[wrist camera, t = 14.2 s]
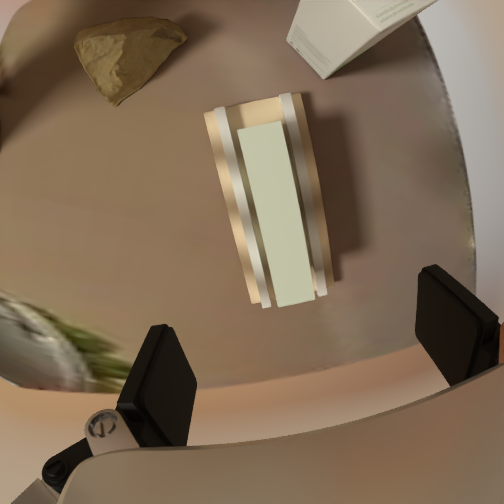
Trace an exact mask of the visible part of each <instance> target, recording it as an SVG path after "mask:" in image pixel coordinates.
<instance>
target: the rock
mask: <svg viewBox="0 0 504 504" xmlns="http://www.w3.org/2000/svg"><path fill="white" fill-rule="evenodd" d="M187 38H188V37H187V36H186V34H185V33H184V32H183V30H182V29H181V28H180V27H179V26H178V25H177V24H175V23H173V22H172V21H170V20H168V19H158V18H154V17H142V18H137V17H135V18H123V19H119V20H116V21H114V22H108V23H104V24H100V25H96V26H93V27H89V28H85V29H84V30H82V31H80V32H78V33H77V34H76V36H75V38H74V42H73V44H74V49H75V51H76V52H77V55H78V57H79V60H80V62H81V63H82V65H83V68H84V70H85V71H86V73H87V74H88V75H89V77H90V78H91V80H92V81H93V82H94V85H95V86H96V89H97V91H98V92H99V93H100V94H101V95H102V96H104V97H105V98H106V99H107V101H108V102H109V103H110V104H111V105H112V106H114V107H117V106H118V104H119V103H120V102H121V101H122V100H123V99H125V98H126V97H128V96H129V95H130V94H133V93H134V92H135V91H137V90H138V89H141V88H142V86H143V85H144V84H145V83H146V82H147V81H148V80H149V79H150V78H151V77H152V76H153V74H154V73H155V72H156V71H157V69H158V67H159V66H160V65H161V63H162V62H164V61H165V60H166V59H167V57H168V56H169V54H170V53H171V51H172V50H173V49H175V48H177V47H178V46H179V45H181V44H183V43H184V42H185V41H186V39H187Z"/></svg>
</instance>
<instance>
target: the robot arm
mask: <svg viewBox="0 0 504 504" xmlns="http://www.w3.org/2000/svg"><path fill="white" fill-rule="evenodd" d="M498 319H499V317H498V316H497V315H496V314H495V313H493V312H492V311H491V310H490V309H489V308H488V307H487V306H486V305H485V304H484V303H482V302H481V301H480V300H479V299H478V298H477V297H476V296H475V295H473V294H472V293H471V292H470V291H469V290H468V289H466V288H465V287H464V286H463V285H462V284H460V283H459V282H458V281H457V280H456V279H454V278H453V277H452V276H451V275H449V274H448V273H447V272H446V271H445V270H443V269H442V268H441V267H440V266H438V265H437V264H434V265H431V266H427V267H424V268H422V270H421V272H420V273H419V274H418V293H417V311H416V324H415V334H416V337H417V339H418V340H419V342H420V343H421V344H422V346H423V347H424V348H425V350H426V351H427V353H428V354H429V356H430V357H431V359H432V360H433V361H434V363H435V364H436V366H437V367H438V369H439V370H440V371H441V373H442V375H443V376H444V378H445V379H446V381H447V382H448V383H449V385H450V387H449V388H447V389H444V390H442V391H440V392H437V393H435V394H433V395H430V396H427V397H425V398H423V399H420V400H417V401H414V402H412V403H409V404H406V405H404V406H400V407H398V408H395V409H392V410H389V411H385V412H383V413H379V414H376V415H373V416H370V417H366V418H362V419H359V420H355V421H352V422H348V423H344V424H340V425H336V426H332V427H328V428H323V429H319V430H315V431H310V432H305V433H300V434H294V435H288V436H282V437H277V438H269V439H263V440H256V441H247V442H238V443H227V444H214V445H201V446H186V445H187V440H188V434H189V428H190V422H191V416H192V411H193V405H194V399H195V394H196V389H197V381H196V378H195V375H194V373H193V371H192V369H191V367H190V365H189V363H188V360H187V358H186V356H185V354H184V352H183V349H182V347H181V345H180V343H179V340H178V338H177V336H176V334H175V331H174V329H173V328H172V327H168V325H167V324H161V325H155V326H151V328H150V330H149V332H148V334H147V336H146V338H145V340H144V342H143V345H142V347H141V349H140V351H139V353H138V355H137V358H136V360H135V362H134V364H133V366H132V369H131V371H130V373H129V376H128V378H127V380H126V382H125V385H124V387H123V389H122V392H121V394H120V396H119V399H118V401H117V407H116V409H115V410H113V409H104V410H101V411H98V412H96V413H95V414H93V415H92V416H91V417H90V418H89V419H88V421H87V423H86V425H85V429H84V430H85V435H86V437H85V438H84V439H82V440H80V441H79V442H77V443H75V444H74V445H72V446H70V447H69V448H67V449H65V450H63V451H62V452H60V453H58V454H56V455H55V456H53V457H51V458H50V459H49V460H48V461H47V462H46V463H45V465H44V467H43V469H42V477H43V479H42V480H40V479H38V478H37V479H36V480H35V481H34V482H33V483H32V484H31V485H30V486H29V487H28V488H27V489H26V490H25V491H24V492H23V493H21V495H19V496H18V497H17V498H16V499H15V500H14V501H13V502H12V503H11V504H504V322H503V323H502V325H500V324H499V323H498Z"/></svg>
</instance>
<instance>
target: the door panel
mask: <svg viewBox="0 0 504 504" xmlns="http://www.w3.org/2000/svg"><path fill="white" fill-rule="evenodd" d="M237 132H238V137H239V141H240V145H241V149H242V153H243V157H244V161H245V166H246V170H247V174H248V178H249V182H250V187H251V191H252V195H253V199H254V204H255V208H256V212H257V217H258V221H259V225H260V229H261V234H262V238H263V242H264V247H265V251H266V256H267V260H268V264H269V269H270V273H271V278H272V282H273V286H274V291H275V295H276V300H277V304H278V307H283V306H287V305H292V304H297V303H301V302H306V301H310V300H315V295H314V289H313V283H312V276H311V270H310V264H309V258H308V252H307V246H306V241H305V235H304V230H303V224H302V219H301V214H300V208H299V203H298V198H297V193H296V188H295V183H294V178H293V173H292V169H291V164H290V159H289V155H288V150H287V146H286V141H285V137H284V132H283V128H282V124H281V121H277V122H272V123H267V124H262V125H257V126H252V127H248V128H244V129H239V130H237Z"/></svg>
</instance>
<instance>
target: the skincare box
mask: <svg viewBox="0 0 504 504" xmlns="http://www.w3.org/2000/svg"><path fill="white" fill-rule="evenodd" d="M436 1H437V0H300V3H299V6H298V9H297V11H296V14H295V17H294V20H293V23H292V25H291V28H290V31H289V34H288V36H287V39H286V41H287V42H288V43H289V44H290V45H291V46H292V47H293V48H294V49H295V50H296V51H297V52H298V53H299V54H300V55H301V56H302V57H303V58H304V59H305V60H306V61H307V62H308V64H309V65H310V66H311V67H312V68H313V69H314V70H315V71H316V72H317V73H318V74H319V75H320V77H321V78H322V79H326V78H328V77H329V76H330V75H332V74H333V73H335V72H336V71H337V70H339V69H340V68H342V67H343V66H345V65H346V64H347V63H349V62H350V61H352V60H353V59H355V58H356V57H358V56H359V55H360V54H362V53H363V52H365V51H366V50H368V49H369V48H371V47H372V46H373V45H375V44H376V43H378V42H379V41H380V40H382V39H383V38H384V37H386V36H387V35H388V34H390V33H391V32H393V31H394V30H396V29H397V28H398V27H400V26H401V25H403V24H404V23H406V22H407V21H408V20H410V19H411V18H413V17H414V16H416V15H417V14H418V13H420V12H421V11H422V10H424V9H426V8H427V7H429V6H430V5H432V4H433V3H435V2H436Z"/></svg>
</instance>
